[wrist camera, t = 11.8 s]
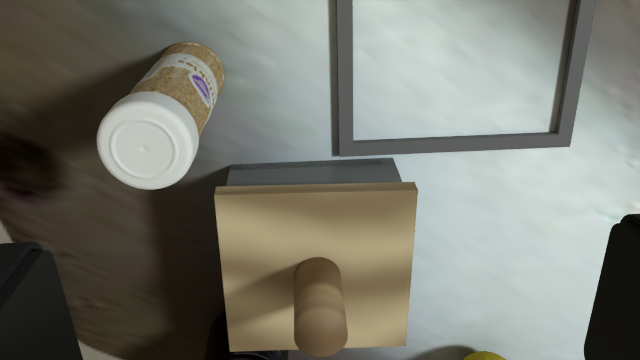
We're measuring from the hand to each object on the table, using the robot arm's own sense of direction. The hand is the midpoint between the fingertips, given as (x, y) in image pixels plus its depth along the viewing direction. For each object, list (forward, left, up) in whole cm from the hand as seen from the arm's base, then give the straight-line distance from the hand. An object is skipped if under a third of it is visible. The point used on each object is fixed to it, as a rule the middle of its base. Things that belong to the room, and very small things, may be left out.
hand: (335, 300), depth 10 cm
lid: (+17, 0, -25) cm, 30 cm away
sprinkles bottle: (+4, -8, -31) cm, 32 cm away
